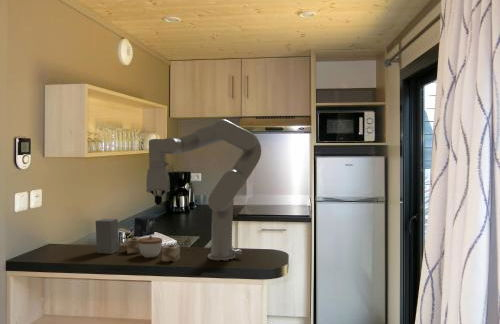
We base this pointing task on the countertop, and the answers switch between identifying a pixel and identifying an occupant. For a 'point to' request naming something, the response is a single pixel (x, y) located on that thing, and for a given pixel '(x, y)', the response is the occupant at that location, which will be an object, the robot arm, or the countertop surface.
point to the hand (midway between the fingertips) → (158, 204)
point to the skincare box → (107, 236)
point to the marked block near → (170, 253)
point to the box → (144, 226)
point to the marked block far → (133, 245)
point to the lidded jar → (150, 246)
